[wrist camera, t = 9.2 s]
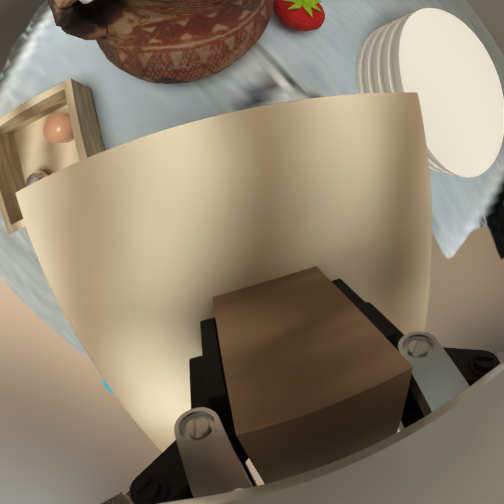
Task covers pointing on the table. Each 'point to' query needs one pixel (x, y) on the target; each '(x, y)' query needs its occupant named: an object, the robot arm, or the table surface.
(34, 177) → the metal ball
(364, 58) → the plate stack
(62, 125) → the orange ball
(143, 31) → the jug
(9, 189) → the storage box
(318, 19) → the strawberry
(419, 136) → the lid
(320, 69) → the table surface
